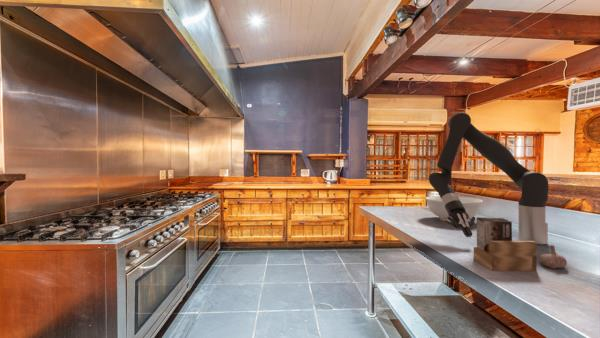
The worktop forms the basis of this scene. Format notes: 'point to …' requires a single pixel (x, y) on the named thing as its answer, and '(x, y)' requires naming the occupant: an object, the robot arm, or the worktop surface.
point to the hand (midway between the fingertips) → (469, 236)
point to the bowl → (469, 203)
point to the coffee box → (492, 231)
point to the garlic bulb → (553, 259)
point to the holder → (508, 256)
